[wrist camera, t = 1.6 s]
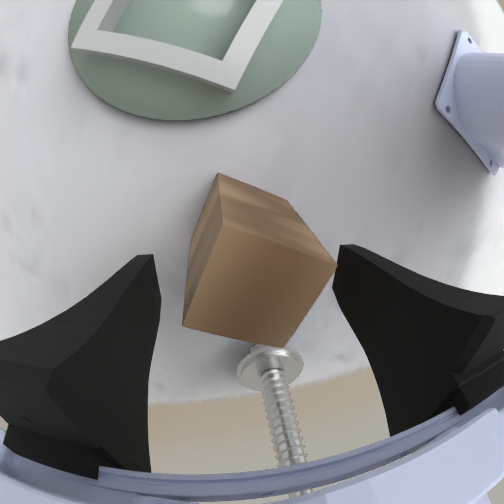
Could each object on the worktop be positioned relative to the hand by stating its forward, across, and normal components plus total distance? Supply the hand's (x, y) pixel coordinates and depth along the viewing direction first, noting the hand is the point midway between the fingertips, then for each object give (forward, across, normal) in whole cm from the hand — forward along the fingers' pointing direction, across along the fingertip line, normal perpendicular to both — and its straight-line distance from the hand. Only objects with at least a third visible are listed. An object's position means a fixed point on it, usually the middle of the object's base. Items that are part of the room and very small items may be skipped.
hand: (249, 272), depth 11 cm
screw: (+6, -2, +11) cm, 12 cm away
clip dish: (+5, +2, -12) cm, 13 cm away
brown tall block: (+5, 0, 0) cm, 5 cm away
